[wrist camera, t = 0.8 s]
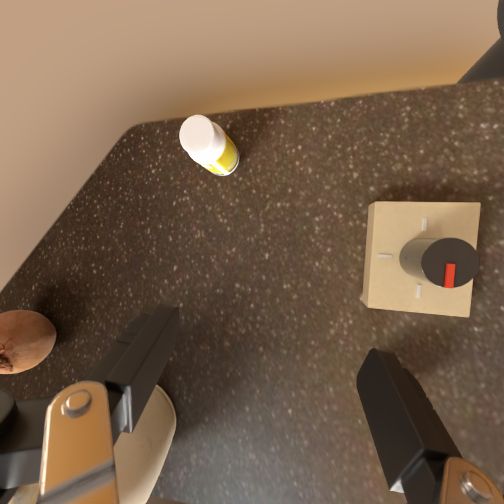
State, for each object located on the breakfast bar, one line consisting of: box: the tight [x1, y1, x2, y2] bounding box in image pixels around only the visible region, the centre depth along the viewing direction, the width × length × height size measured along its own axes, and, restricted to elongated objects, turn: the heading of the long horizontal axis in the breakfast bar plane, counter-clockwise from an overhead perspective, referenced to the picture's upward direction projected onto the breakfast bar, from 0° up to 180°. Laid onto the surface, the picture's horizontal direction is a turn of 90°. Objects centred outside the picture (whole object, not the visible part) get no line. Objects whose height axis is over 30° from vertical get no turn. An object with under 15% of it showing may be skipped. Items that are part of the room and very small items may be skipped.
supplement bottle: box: [180, 115, 239, 176], centre depth 30 cm, size 5×5×8 cm
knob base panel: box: [362, 202, 481, 317], centre depth 28 cm, size 12×10×3 cm
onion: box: [0, 310, 56, 374], centre depth 38 cm, size 10×9×10 cm
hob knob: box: [399, 238, 479, 289], centre depth 24 cm, size 4×4×6 cm
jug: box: [8, 384, 176, 504], centre depth 27 cm, size 15×16×25 cm
